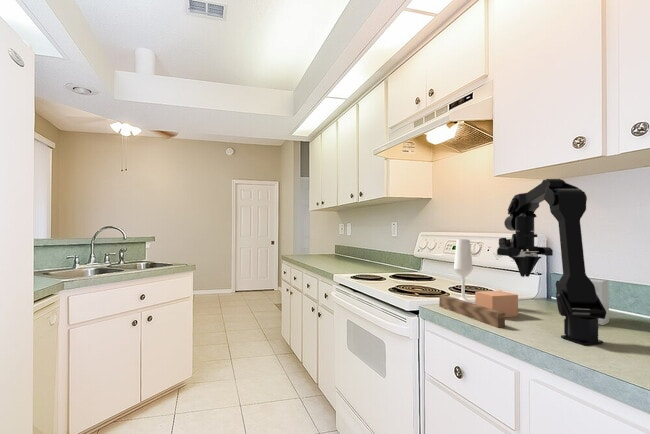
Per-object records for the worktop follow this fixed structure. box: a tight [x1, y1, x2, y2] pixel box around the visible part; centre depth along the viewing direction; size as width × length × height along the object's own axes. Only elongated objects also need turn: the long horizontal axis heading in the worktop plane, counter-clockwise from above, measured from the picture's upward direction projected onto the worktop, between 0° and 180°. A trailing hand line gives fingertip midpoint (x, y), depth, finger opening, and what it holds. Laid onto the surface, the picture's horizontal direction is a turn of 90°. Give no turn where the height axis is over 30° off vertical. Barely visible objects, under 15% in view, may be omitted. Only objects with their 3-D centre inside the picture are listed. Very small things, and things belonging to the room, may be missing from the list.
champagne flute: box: [453, 238, 474, 303], centre depth 136 cm, size 7×7×24 cm
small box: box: [588, 277, 610, 326], centre depth 111 cm, size 8×6×13 cm
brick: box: [474, 290, 519, 318], centre depth 119 cm, size 8×10×7 cm
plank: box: [438, 294, 506, 329], centre depth 116 cm, size 28×2×4 cm, turn 17°
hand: (524, 276), depth 122 cm, fingers closed
